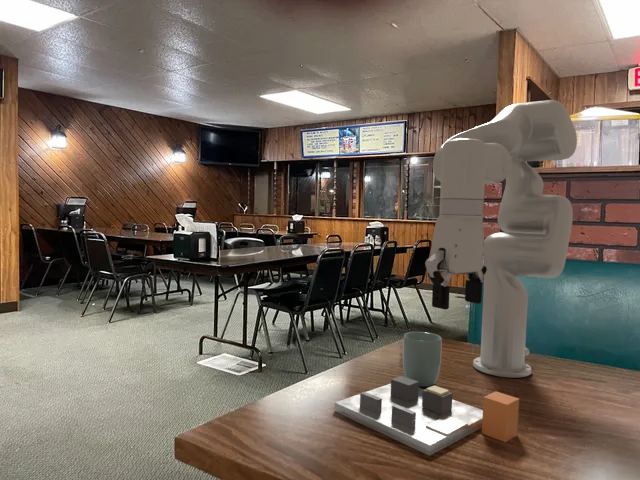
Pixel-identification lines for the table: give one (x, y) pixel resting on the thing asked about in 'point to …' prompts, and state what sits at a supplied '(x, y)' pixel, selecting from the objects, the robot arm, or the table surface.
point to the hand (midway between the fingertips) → (457, 305)
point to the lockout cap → (500, 416)
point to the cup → (422, 357)
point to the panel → (411, 419)
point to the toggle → (404, 388)
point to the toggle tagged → (437, 400)
